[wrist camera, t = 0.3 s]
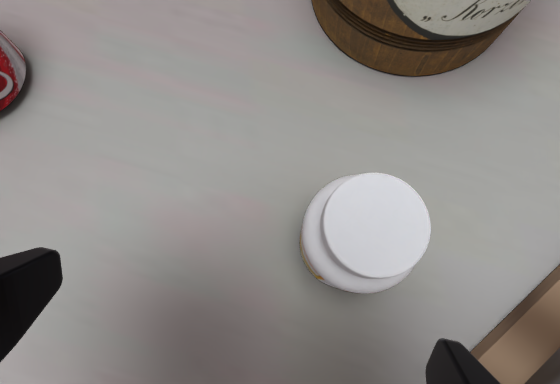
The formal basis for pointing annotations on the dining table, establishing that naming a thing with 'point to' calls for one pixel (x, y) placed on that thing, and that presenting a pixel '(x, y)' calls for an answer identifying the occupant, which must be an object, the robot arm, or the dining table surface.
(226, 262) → the dining table surface
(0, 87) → the soda can
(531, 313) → the collar board
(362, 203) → the supplement bottle
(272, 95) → the dining table surface
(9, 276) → the robot arm
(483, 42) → the wooden container
